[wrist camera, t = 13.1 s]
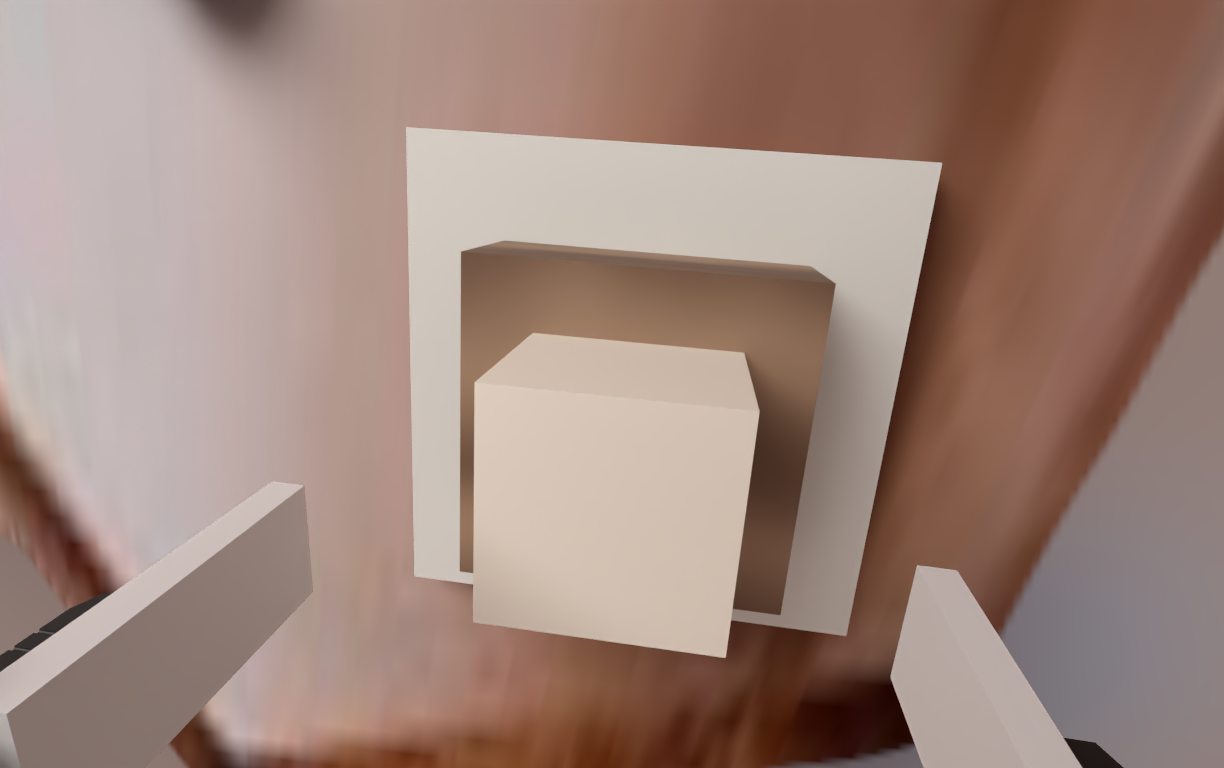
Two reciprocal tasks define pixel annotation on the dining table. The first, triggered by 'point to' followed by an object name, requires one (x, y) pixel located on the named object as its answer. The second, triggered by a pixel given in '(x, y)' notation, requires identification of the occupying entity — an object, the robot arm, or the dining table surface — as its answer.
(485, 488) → the cream brick
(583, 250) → the walnut brick
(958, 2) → the dining table surface
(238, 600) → the robot arm
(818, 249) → the plinth
